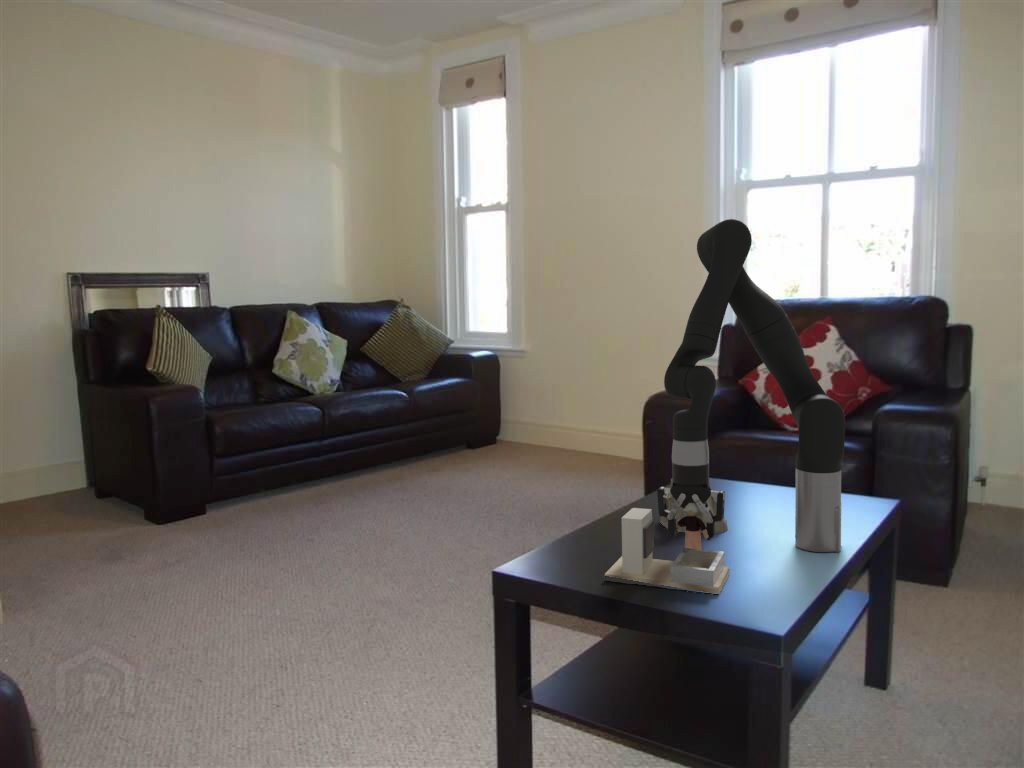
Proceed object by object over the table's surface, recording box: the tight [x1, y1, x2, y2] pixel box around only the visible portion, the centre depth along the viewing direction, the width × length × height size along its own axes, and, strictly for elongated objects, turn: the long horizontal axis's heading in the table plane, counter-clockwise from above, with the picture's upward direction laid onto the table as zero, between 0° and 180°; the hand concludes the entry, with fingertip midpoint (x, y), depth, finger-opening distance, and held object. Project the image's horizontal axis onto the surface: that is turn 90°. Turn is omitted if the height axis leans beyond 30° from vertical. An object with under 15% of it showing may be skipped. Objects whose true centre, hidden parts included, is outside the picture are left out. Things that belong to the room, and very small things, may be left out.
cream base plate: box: [604, 555, 731, 595], centre depth 156 cm, size 22×12×2 cm, turn 66°
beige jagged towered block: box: [659, 478, 728, 535], centre depth 192 cm, size 16×16×15 cm
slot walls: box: [670, 547, 725, 587], centre depth 153 cm, size 8×12×3 cm, turn 156°
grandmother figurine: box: [676, 503, 709, 550], centre depth 166 cm, size 8×4×13 cm, turn 56°
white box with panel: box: [621, 507, 655, 575], centre depth 158 cm, size 5×8×11 cm, turn 156°
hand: (691, 537), depth 166 cm, fingers closed on grandmother figurine, 7 cm apart
